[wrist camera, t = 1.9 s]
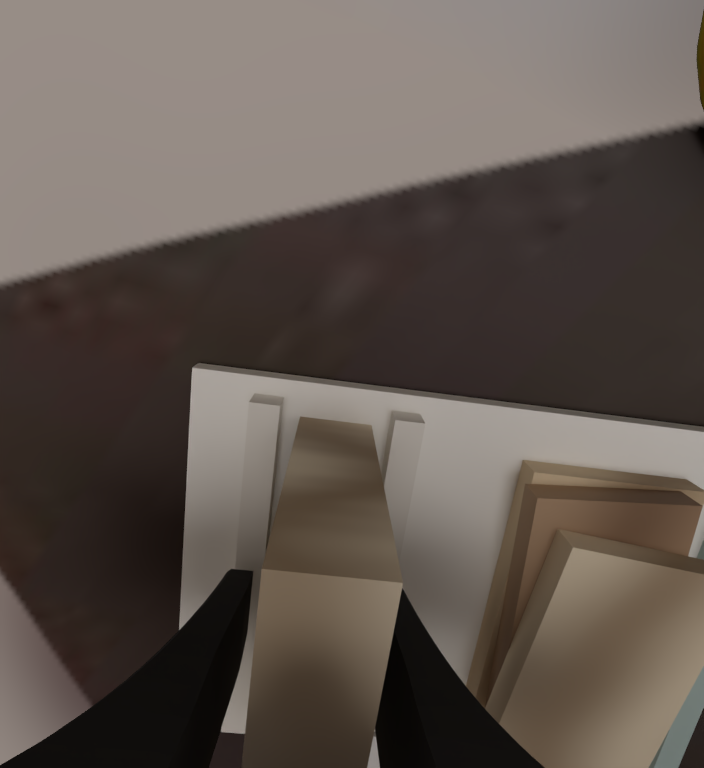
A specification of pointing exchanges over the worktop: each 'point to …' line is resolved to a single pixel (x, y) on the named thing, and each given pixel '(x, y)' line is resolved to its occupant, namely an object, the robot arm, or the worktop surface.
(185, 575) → the board
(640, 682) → the offcut stack
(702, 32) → the bottle
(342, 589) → the birch panel
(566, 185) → the worktop surface
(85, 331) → the worktop surface
